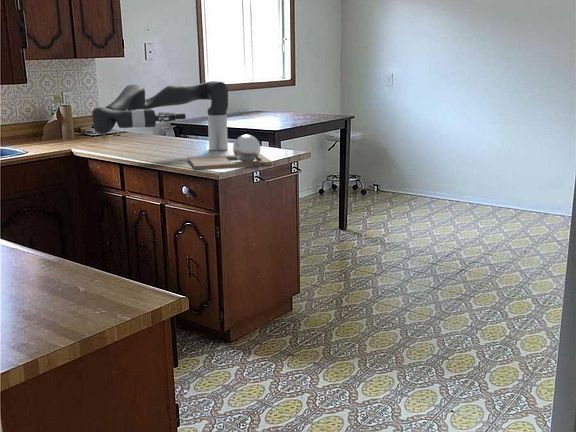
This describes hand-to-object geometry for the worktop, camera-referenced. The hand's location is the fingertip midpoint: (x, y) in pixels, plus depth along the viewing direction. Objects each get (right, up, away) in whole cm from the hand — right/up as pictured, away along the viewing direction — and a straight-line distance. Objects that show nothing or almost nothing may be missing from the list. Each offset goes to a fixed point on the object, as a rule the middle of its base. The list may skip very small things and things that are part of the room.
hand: (185, 116), depth 264 cm
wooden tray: (+18, -19, +10) cm, 28 cm away
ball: (+25, -12, +11) cm, 30 cm away
